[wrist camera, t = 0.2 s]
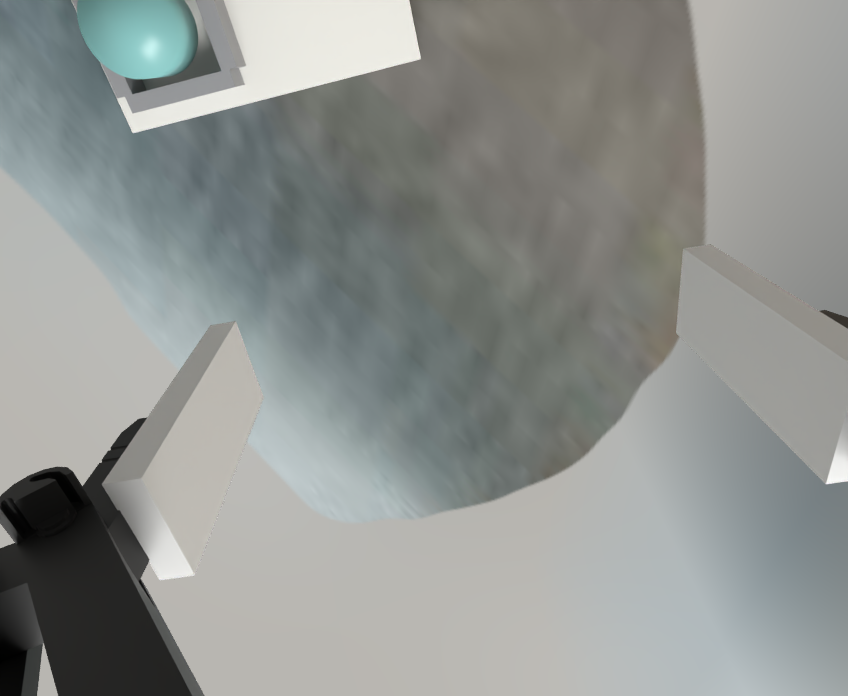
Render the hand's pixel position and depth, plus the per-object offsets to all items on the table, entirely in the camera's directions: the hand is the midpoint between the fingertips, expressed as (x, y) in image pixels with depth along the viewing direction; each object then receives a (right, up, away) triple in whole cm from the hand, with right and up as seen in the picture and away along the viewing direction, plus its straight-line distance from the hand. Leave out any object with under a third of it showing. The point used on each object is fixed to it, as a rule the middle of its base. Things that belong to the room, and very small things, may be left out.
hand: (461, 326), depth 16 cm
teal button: (-17, +18, +15) cm, 29 cm away
